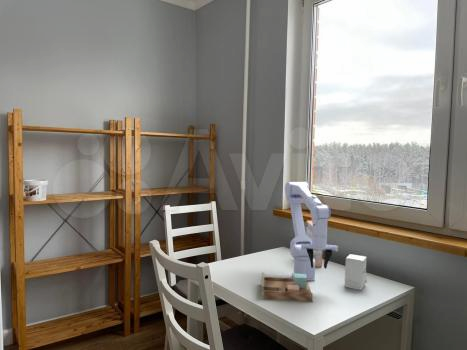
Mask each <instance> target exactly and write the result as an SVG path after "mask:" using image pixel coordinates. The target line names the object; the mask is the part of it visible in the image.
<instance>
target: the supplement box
mask: <svg viewBox="0 0 467 350" xmlns="http://www.w3.org/2000/svg"><path fill="white" fill-rule="evenodd" d="M344 269H345V270H344V285H343V287H345V288H348V289H349V288H350V289H353V290H358V291H362V290H363V288H364V287H365V286H366V279H365V278H366V277H367V275H366V273H367V256H365V255H358V254H351V253H350V254H348V256H346V258H345V268H344Z"/></svg>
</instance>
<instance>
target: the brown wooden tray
mask: <svg viewBox="0 0 467 350" xmlns="http://www.w3.org/2000/svg"><path fill="white" fill-rule="evenodd" d="M293 282H294V278H293V277H276V276H273V277H272V276H265V272H261V285H260V289H261V290H260V291H261V292H260V299H263V300H277V301H280V300H281V301H293V302H294V301H295V302H296V301H297V302H307V303H308V302H311V303H312V302H313V294H314V293H313V292H312V291H311V287H310V283H309V280H308V279H307V288H299V289H300V292H287V285H294V283H293Z"/></svg>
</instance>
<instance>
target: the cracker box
mask: <svg viewBox="0 0 467 350" xmlns="http://www.w3.org/2000/svg"><path fill="white" fill-rule="evenodd" d="M305 233H306V236H307V237H309V238H310V239H311V240H312V235H313V223H312V220H306V228H305ZM313 259H315V268H322V265H323V250H315V253H314V256H313Z"/></svg>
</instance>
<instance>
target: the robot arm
mask: <svg viewBox="0 0 467 350" xmlns="http://www.w3.org/2000/svg"><path fill="white" fill-rule="evenodd" d="M309 188H310V187H309V184H308V182H307V181H287V182H286V183H285V186H284V194H285V199H286V201H287V202H288V203H289V208H290V213H291V214H290V215H291V219H292V226H293V231H294V232H293V233H294V237H293V238H292V239H291V240H290V242H289V245H290V248H289V250H290V255H291V257H292V258H293V272H292V274H291V275H292V278H294V273H296V274H306V276H307V279H308V281H312V282H313V281H314V282H315V281H316V277H315V276H316V267H315V259H313V256H314V253H315V250H322V251H324V252H323V253H324V254H323V255H324V259H323V268H324V269H327V267H328V264H329V261H330V259H331V257H332V255H333V251H334V252H338V251H339V246H338V245H334V244H328V242H327V241H328V238H327V237H328V222H329V221H328V220H329V219H330V218H331V214H332V213H331V207H330V206H329V205H328V204H323V202H321V201H320V199H319V198H318V197H317V195H314V194H312V193H311V191H310V189H309ZM303 201H304V203H305V206H306V207H307V209H308V210H309V211H310V217H311V221H312V223H313V235H312V240H311V239H310V238H309V237H307V236H306V228H305V223H304V217H303V216H304V215H303V211H302V202H303Z"/></svg>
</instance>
